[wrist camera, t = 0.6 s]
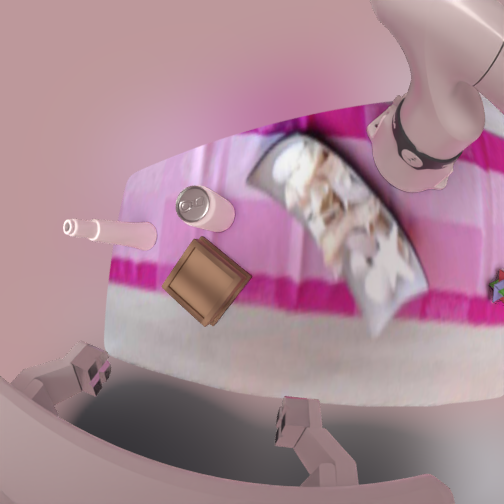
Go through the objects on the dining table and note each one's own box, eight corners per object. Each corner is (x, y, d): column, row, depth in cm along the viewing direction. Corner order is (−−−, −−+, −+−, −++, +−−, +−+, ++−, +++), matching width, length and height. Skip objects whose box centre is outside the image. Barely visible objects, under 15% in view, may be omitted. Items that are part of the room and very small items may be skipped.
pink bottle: (161, 239, 54) (83, 231, 33) (142, 256, 55) (63, 255, 34) (149, 216, 55) (72, 198, 34) (130, 233, 56) (52, 223, 35)
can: (200, 203, 53) (170, 189, 41) (232, 194, 51) (208, 177, 40) (206, 235, 52) (176, 230, 40) (238, 227, 51) (215, 219, 39)
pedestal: (203, 236, 52) (193, 234, 48) (252, 276, 50) (245, 278, 45) (170, 284, 54) (158, 286, 49) (214, 324, 51) (205, 330, 47)
